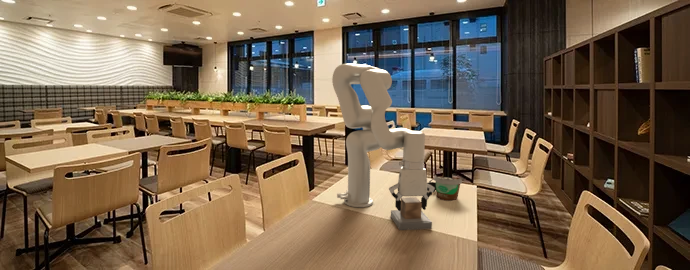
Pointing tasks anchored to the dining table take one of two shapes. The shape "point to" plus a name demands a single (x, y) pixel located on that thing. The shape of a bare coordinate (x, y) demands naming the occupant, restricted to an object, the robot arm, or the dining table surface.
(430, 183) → the sunglasses
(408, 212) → the cube
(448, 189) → the food container
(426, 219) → the tray
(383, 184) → the dining table surface
